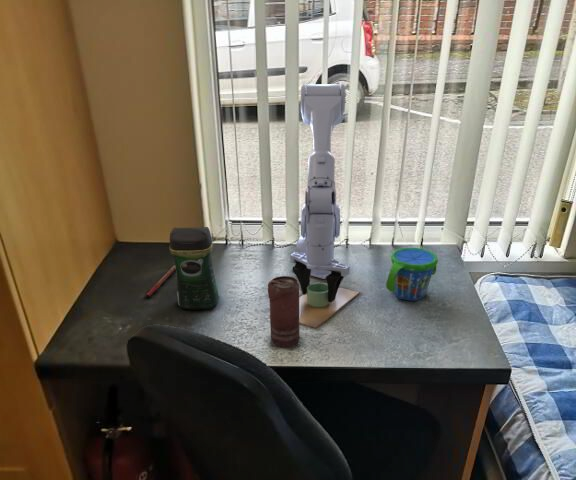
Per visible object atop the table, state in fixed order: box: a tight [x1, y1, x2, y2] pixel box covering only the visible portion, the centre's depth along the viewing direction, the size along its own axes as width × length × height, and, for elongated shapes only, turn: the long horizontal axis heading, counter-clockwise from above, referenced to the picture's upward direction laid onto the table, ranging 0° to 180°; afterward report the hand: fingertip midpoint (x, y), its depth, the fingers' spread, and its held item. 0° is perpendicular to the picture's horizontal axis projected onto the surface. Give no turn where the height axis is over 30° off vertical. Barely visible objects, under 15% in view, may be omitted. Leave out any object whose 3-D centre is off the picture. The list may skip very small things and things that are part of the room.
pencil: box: [145, 264, 176, 299], centre depth 147 cm, size 19×1×1 cm, turn 167°
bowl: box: [307, 282, 330, 308], centre depth 134 cm, size 6×6×4 cm
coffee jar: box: [169, 226, 220, 311], centre depth 131 cm, size 10×8×19 cm
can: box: [267, 275, 300, 349], centre depth 118 cm, size 6×6×14 cm
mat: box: [299, 281, 360, 330], centre depth 136 cm, size 11×20×1 cm, turn 146°
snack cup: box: [385, 247, 439, 302], centre depth 136 cm, size 16×10×10 cm
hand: (318, 296), depth 134 cm, fingers open, 7 cm apart
